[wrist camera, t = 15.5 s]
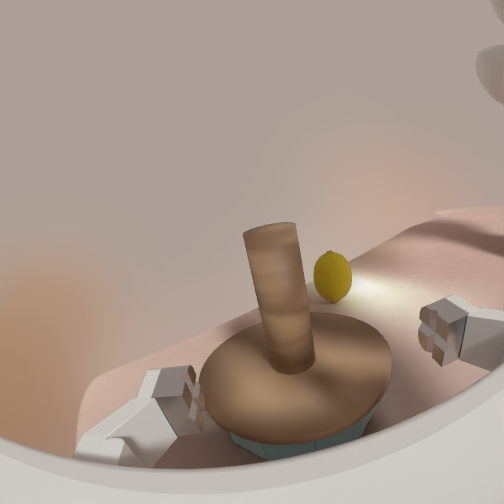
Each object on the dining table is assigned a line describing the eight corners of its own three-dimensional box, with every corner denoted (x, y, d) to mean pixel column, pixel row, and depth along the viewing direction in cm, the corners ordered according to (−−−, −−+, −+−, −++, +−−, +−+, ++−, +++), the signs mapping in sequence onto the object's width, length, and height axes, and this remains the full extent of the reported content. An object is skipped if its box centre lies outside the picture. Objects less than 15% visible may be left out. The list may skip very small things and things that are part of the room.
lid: (277, 311, 33) (256, 211, 30) (411, 332, 22) (409, 200, 19) (167, 390, 22) (116, 263, 19) (329, 480, 11) (313, 292, 8)
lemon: (310, 303, 42) (302, 253, 40) (338, 290, 44) (332, 242, 42) (331, 315, 37) (325, 260, 35) (361, 300, 39) (356, 248, 37)
